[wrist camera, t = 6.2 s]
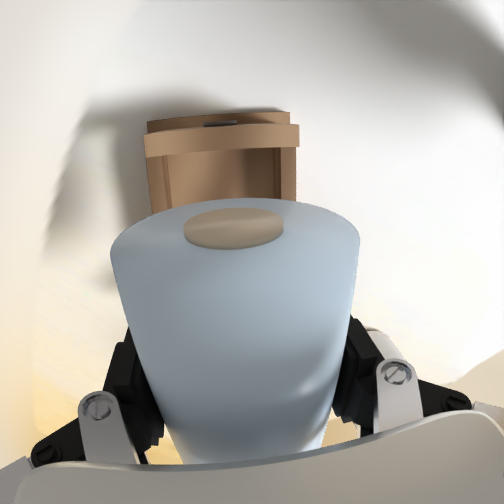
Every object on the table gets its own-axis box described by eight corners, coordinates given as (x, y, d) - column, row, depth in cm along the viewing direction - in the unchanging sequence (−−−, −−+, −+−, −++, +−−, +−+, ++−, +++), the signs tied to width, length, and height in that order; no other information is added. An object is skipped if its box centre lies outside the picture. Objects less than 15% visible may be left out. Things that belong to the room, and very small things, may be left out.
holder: (286, 112, 21) (316, 110, 15) (286, 299, 28) (307, 350, 21) (149, 121, 20) (124, 122, 14) (175, 309, 27) (168, 364, 20)
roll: (139, 201, 10) (67, 295, 4) (315, 188, 10) (413, 266, 5) (184, 404, 14) (183, 509, 9) (301, 392, 15) (332, 492, 9)
